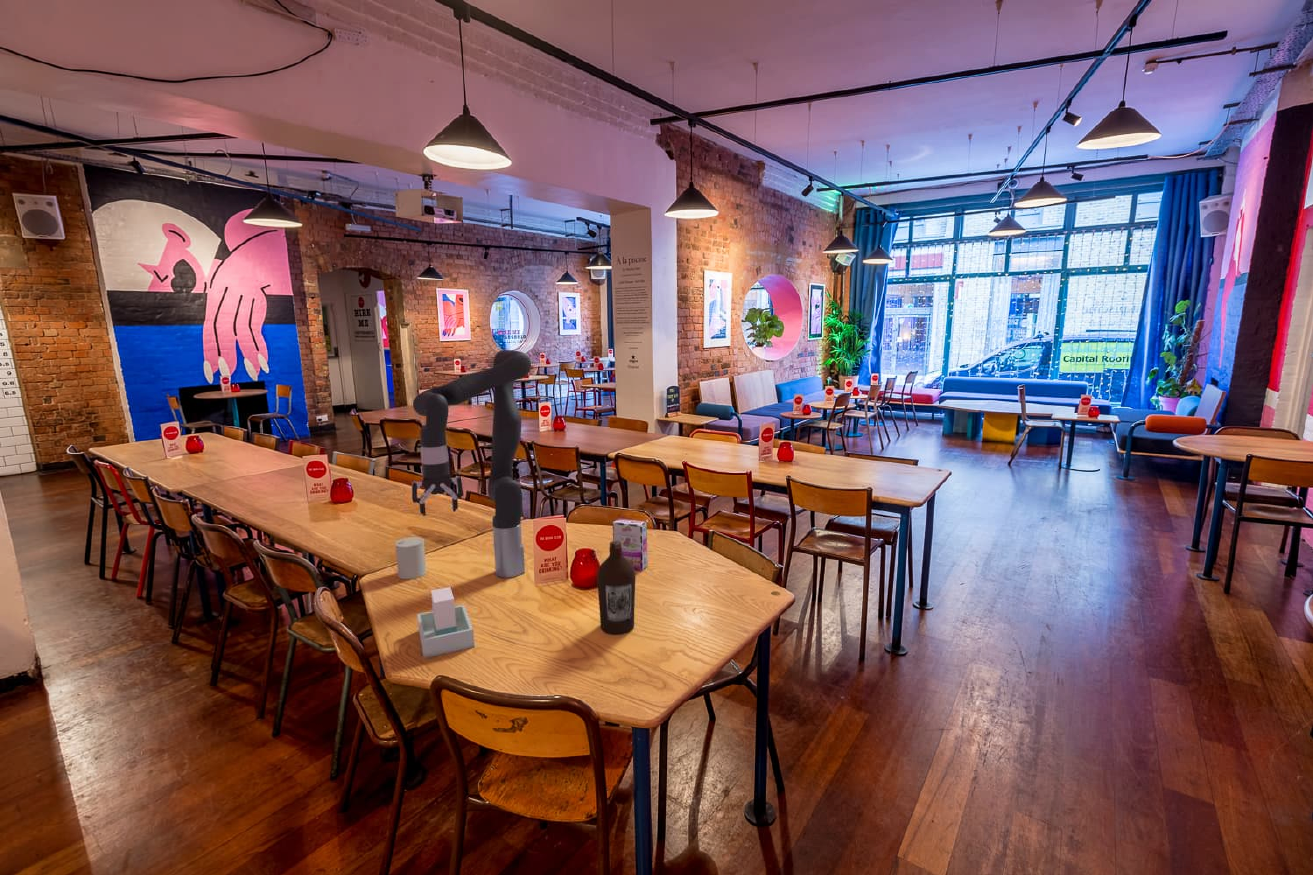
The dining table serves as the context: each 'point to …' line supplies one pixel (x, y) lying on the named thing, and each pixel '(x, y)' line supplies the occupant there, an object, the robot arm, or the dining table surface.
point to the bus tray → (447, 641)
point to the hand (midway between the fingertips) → (439, 512)
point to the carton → (443, 611)
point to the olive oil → (616, 592)
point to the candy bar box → (632, 541)
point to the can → (410, 558)
